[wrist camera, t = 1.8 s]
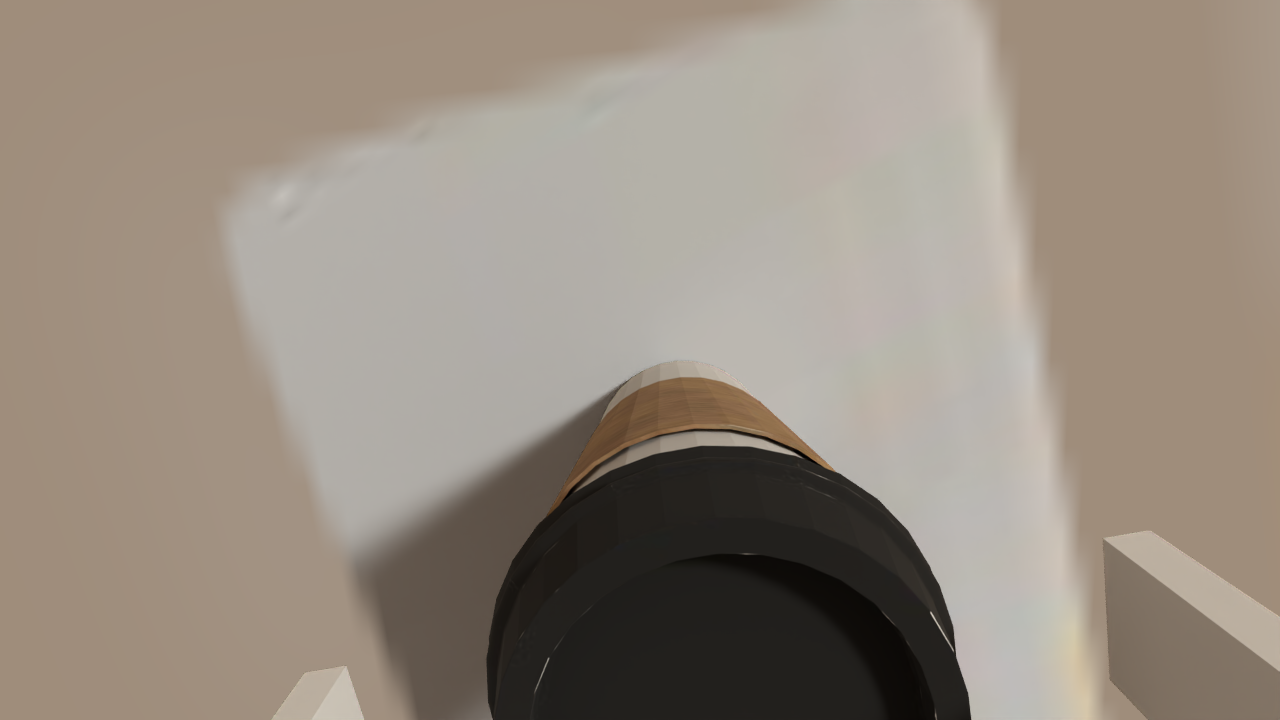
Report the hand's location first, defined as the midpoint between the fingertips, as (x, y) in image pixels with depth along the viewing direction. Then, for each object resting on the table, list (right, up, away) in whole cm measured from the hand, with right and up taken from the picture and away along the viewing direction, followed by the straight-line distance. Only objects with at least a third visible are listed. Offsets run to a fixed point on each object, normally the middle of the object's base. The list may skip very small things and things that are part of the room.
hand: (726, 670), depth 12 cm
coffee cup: (0, +3, +13) cm, 13 cm away
